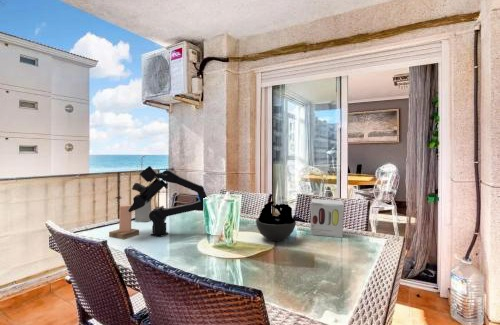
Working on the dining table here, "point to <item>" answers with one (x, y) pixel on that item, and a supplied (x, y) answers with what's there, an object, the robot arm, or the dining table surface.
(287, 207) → the black rounded bowl
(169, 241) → the dining table surface
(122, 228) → the terracotta block
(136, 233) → the walnut slab
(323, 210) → the supplement box
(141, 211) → the skincare box
